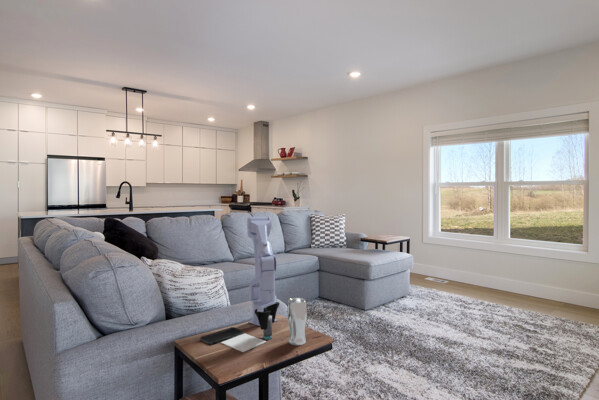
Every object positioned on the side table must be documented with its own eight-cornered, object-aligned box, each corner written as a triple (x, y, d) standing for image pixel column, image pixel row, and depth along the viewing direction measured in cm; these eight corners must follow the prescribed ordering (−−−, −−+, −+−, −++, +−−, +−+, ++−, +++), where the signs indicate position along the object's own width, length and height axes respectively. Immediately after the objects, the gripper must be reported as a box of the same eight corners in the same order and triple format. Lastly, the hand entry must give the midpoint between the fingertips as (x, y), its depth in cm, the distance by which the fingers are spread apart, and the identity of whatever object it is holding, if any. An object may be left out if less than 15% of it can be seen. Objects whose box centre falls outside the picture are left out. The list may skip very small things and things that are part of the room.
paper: (244, 334, 136) (244, 333, 136) (266, 342, 128) (266, 341, 128) (220, 343, 127) (220, 342, 127) (242, 352, 120) (242, 351, 120)
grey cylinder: (267, 335, 134) (267, 314, 134) (273, 337, 132) (273, 316, 132) (261, 338, 132) (261, 316, 132) (267, 340, 130) (267, 318, 130)
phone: (198, 337, 131) (232, 326, 142) (198, 340, 131) (232, 329, 142) (210, 343, 125) (245, 331, 136) (210, 346, 125) (245, 334, 136)
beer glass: (309, 339, 130) (309, 298, 130) (303, 347, 123) (302, 303, 123) (291, 337, 132) (291, 296, 132) (284, 344, 126) (284, 302, 126)
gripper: (264, 283, 140) (264, 318, 140) (249, 293, 126) (249, 331, 126) (281, 284, 138) (281, 320, 138) (267, 294, 124) (268, 333, 124)
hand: (267, 325), depth 132 cm, fingers open, 7 cm apart
